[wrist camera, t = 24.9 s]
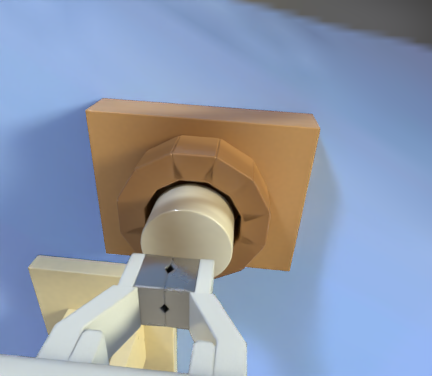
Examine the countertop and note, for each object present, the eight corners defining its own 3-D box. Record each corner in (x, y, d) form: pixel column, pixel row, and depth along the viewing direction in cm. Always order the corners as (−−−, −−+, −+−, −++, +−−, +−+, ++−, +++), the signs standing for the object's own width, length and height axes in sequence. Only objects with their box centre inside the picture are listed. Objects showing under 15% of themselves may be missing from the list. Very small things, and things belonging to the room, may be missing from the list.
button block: (312, 113, 16) (331, 147, 12) (285, 247, 20) (294, 301, 16) (102, 97, 16) (62, 125, 13) (118, 231, 20) (90, 280, 17)
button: (237, 186, 14) (236, 214, 12) (231, 254, 16) (229, 287, 14) (151, 179, 14) (137, 205, 12) (154, 246, 16) (142, 278, 14)
